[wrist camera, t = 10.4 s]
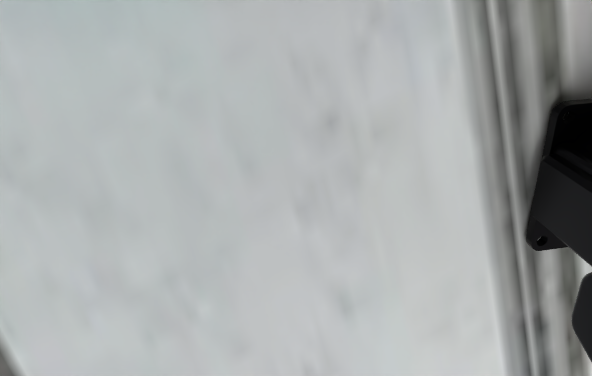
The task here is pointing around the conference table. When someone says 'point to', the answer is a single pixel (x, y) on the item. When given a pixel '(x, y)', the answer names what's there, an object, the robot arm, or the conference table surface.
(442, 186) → the conference table surface
